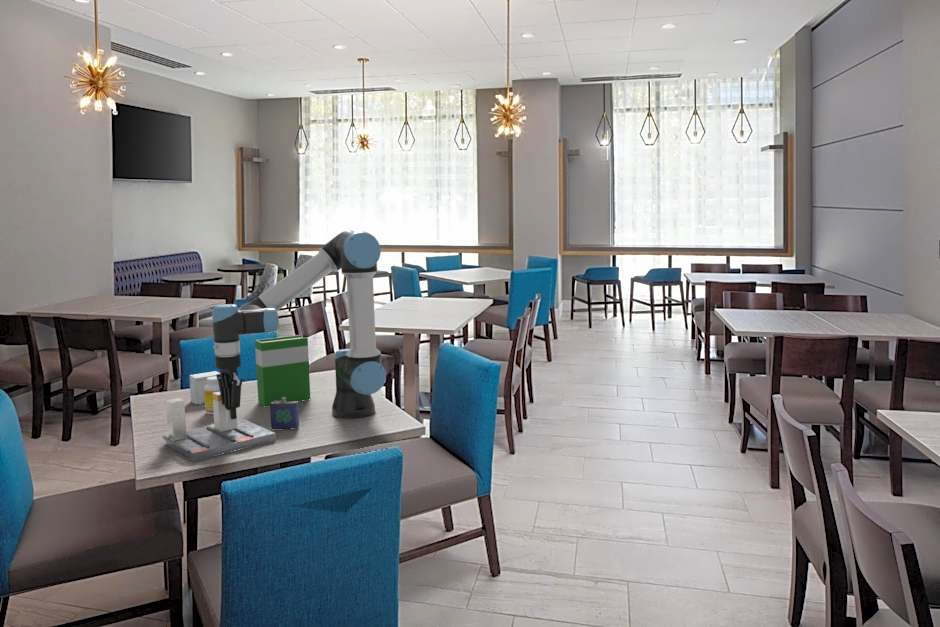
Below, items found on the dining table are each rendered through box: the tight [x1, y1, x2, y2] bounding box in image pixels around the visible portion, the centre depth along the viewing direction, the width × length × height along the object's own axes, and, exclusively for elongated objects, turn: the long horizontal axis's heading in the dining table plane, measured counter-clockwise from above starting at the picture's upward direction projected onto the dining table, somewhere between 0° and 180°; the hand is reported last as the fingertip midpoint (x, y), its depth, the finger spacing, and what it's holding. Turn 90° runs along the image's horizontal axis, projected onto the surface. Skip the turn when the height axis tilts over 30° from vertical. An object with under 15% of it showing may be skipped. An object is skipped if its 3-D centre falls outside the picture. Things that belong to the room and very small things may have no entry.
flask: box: [269, 397, 300, 430], centre depth 243 cm, size 9×3×11 cm, turn 95°
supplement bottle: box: [204, 376, 220, 415], centre depth 262 cm, size 7×7×13 cm
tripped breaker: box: [212, 391, 231, 432], centre depth 234 cm, size 4×4×12 cm
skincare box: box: [188, 370, 220, 405], centre depth 278 cm, size 10×6×10 cm, turn 131°
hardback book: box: [254, 334, 311, 408], centre depth 275 cm, size 18×7×24 cm, turn 124°
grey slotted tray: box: [162, 397, 277, 462], centre depth 229 cm, size 23×27×15 cm
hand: (232, 428), depth 230 cm, fingers closed
